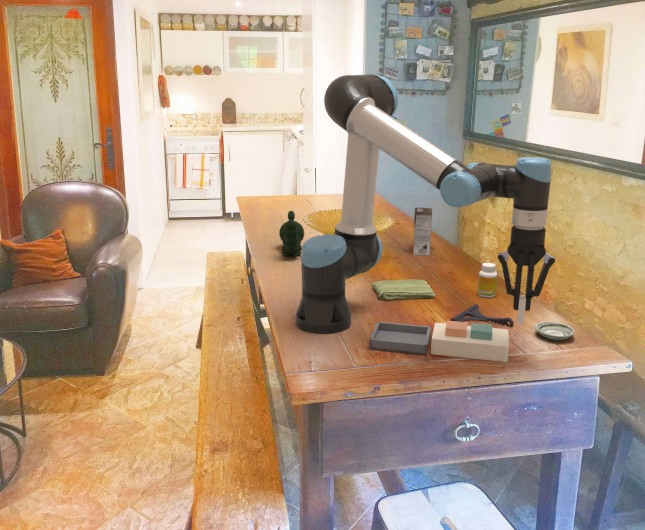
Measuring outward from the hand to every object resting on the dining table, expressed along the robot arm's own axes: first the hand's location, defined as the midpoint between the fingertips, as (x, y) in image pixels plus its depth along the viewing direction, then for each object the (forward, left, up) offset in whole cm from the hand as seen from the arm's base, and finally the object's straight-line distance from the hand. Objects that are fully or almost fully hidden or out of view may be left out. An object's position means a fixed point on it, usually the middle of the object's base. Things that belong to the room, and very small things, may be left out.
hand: (520, 322), depth 151 cm
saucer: (+10, +14, -9) cm, 19 cm away
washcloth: (-32, +37, -9) cm, 50 cm away
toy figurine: (-78, +71, -9) cm, 106 cm away
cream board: (-11, 0, -8) cm, 14 cm away
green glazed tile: (-9, 0, -4) cm, 10 cm away
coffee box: (-31, +85, -9) cm, 91 cm away
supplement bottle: (-7, +42, -9) cm, 43 cm away
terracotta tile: (-15, 0, -4) cm, 15 cm away
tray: (-28, 0, -8) cm, 29 cm away
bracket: (-7, +21, -9) cm, 24 cm away
